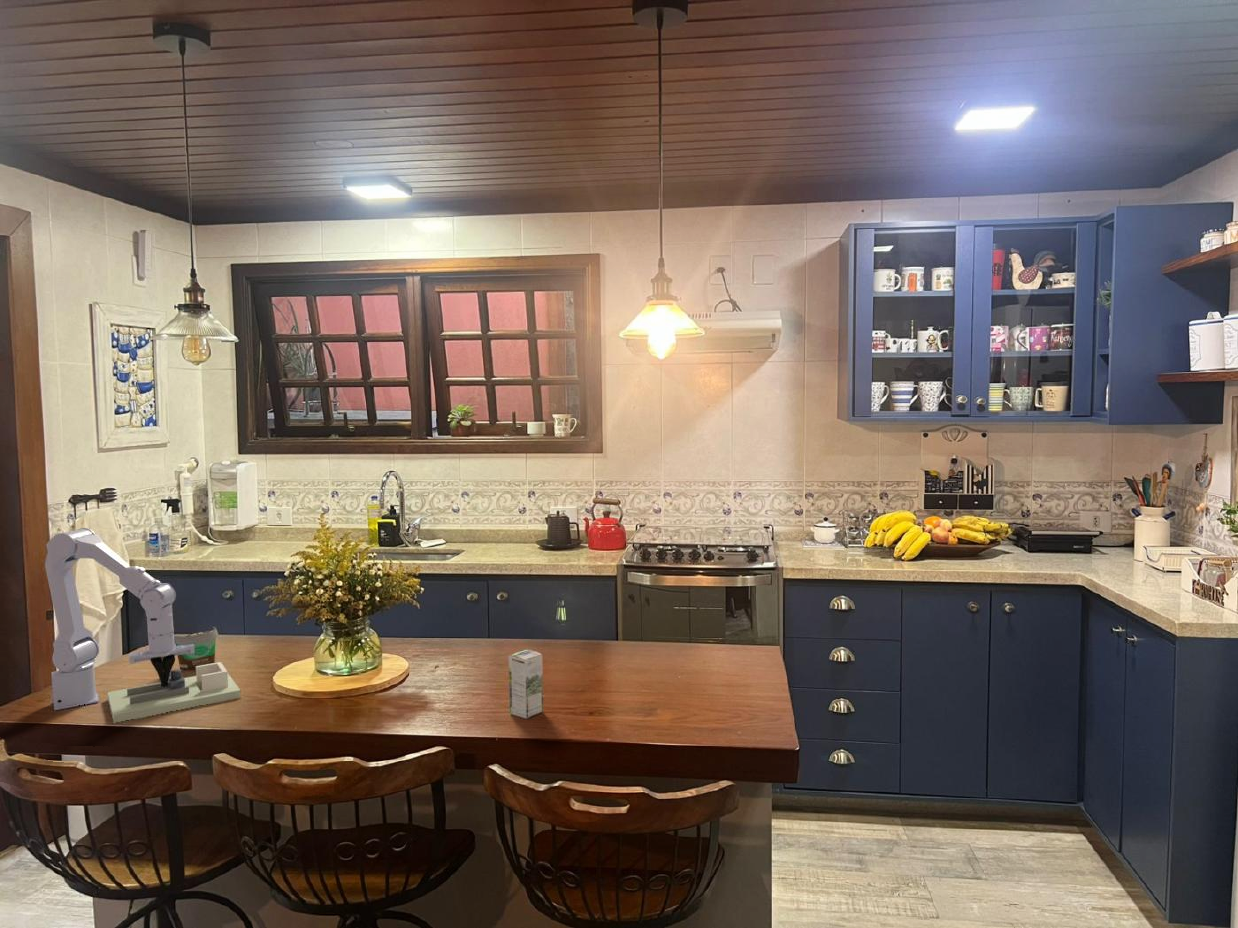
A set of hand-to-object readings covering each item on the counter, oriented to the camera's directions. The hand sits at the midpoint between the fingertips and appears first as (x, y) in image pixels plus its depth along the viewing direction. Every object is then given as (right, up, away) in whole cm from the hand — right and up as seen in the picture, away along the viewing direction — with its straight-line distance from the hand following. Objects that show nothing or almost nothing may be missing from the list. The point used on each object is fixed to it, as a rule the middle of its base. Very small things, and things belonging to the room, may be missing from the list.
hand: (164, 685), depth 216 cm
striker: (+2, -2, +2) cm, 3 cm away
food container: (-4, -2, +28) cm, 28 cm away
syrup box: (+94, -3, -14) cm, 95 cm away
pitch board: (+2, -4, +1) cm, 4 cm away
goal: (+9, -1, +6) cm, 11 cm away
